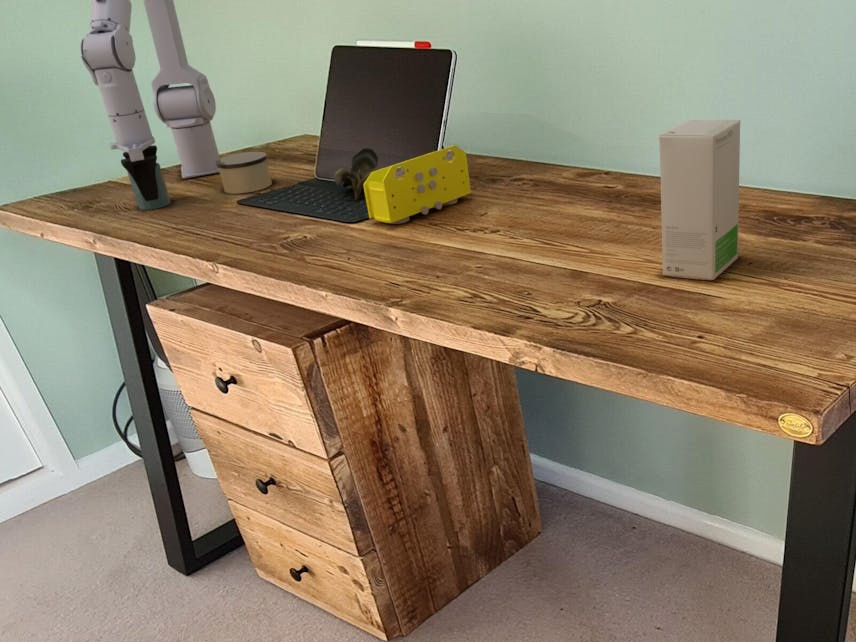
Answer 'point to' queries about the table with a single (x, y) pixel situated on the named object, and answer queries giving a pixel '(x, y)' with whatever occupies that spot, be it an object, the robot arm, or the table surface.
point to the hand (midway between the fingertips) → (152, 195)
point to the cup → (162, 192)
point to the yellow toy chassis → (417, 185)
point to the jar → (244, 172)
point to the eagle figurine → (357, 171)
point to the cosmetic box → (700, 197)
